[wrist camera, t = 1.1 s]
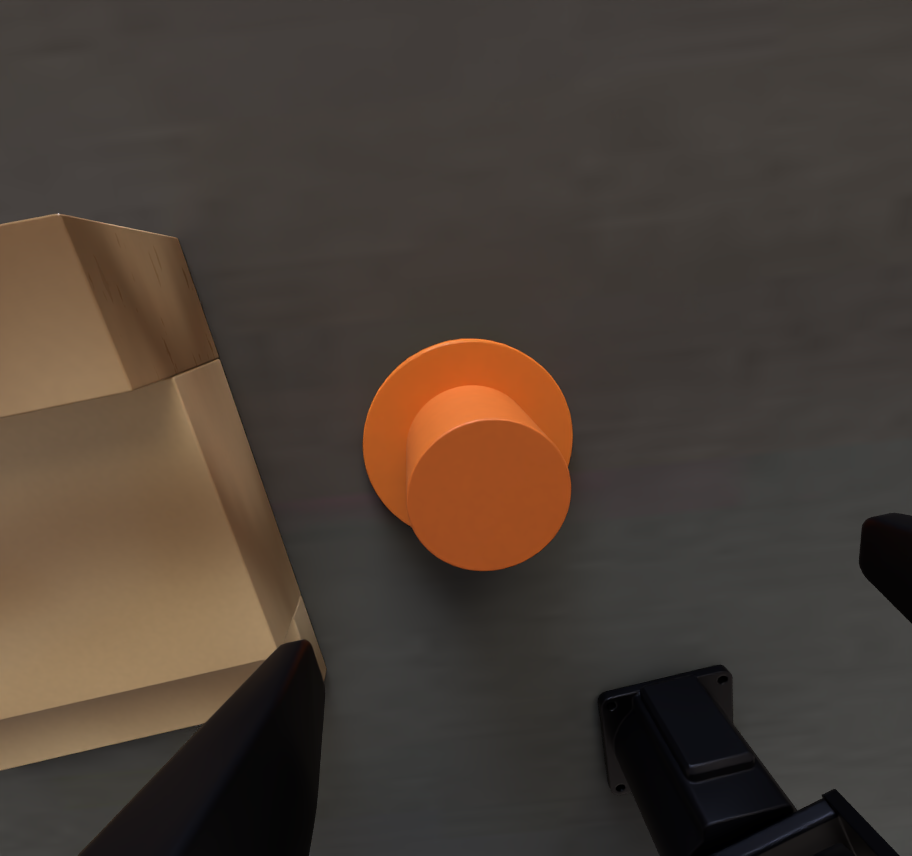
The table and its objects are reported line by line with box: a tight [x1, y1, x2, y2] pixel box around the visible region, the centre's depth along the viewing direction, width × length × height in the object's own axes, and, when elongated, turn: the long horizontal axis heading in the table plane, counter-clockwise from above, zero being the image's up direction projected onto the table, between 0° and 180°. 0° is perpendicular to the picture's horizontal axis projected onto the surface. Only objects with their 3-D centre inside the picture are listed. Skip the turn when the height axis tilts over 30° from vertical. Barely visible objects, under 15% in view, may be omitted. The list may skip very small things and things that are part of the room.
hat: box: [363, 339, 573, 571], centre depth 16 cm, size 8×8×5 cm
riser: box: [0, 213, 327, 771], centre depth 15 cm, size 18×14×6 cm
